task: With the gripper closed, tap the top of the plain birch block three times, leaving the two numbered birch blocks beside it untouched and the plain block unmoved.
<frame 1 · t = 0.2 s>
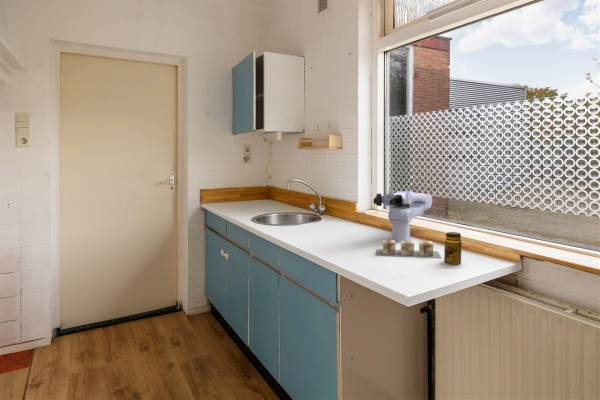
hand: (382, 201, 168), 21 cm above the worktop, tool horizontal, fingers open, 7 cm apart
plain block: (407, 253, 161), resting on slate mat
slate mat: (407, 254, 161), on the worktop
condiment: (452, 263, 149), on the worktop
block one: (388, 252, 163), resting on slate mat
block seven: (425, 254, 160), resting on slate mat
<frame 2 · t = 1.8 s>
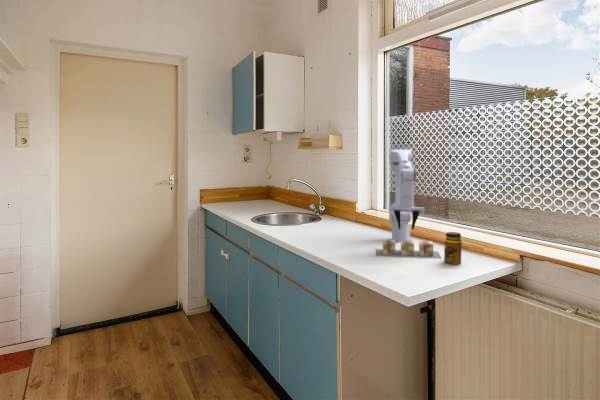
hand: (406, 228, 164), 10 cm above the worktop, tool pointing down, fingers open, 5 cm apart
nothing on the worktop moved.
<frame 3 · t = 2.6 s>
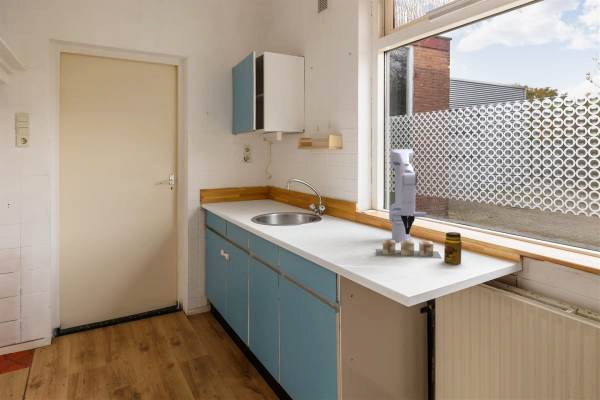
hand: (407, 233, 161), 9 cm above the worktop, tool pointing down, fingers closed
nothing on the worktop moved.
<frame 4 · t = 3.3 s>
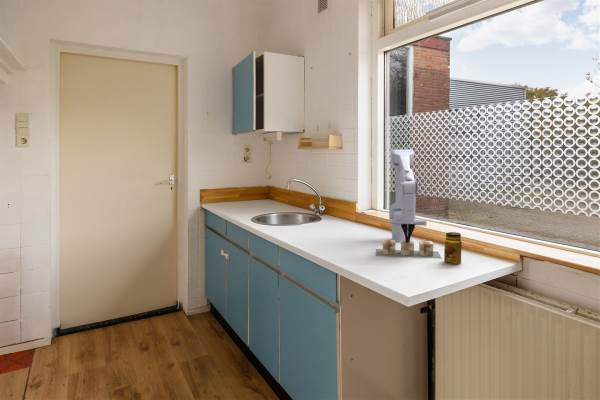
hand: (407, 242, 161), 5 cm above the worktop, tool pointing down, fingers closed, pressing on plain block
plain block: (407, 253, 161), resting on slate mat, touching gripper
everything else where it was.
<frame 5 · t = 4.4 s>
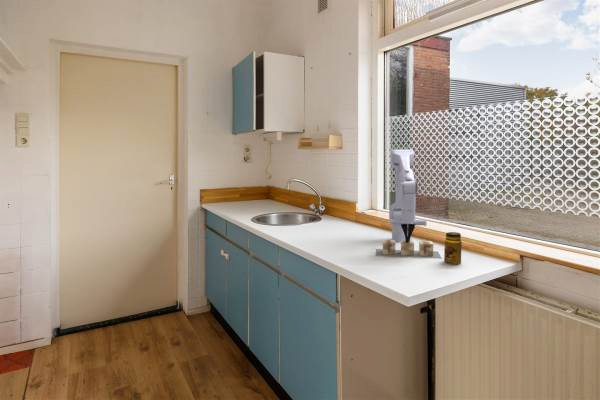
hand: (407, 242, 161), 5 cm above the worktop, tool pointing down, fingers closed, pressing on plain block
plain block: (407, 253, 161), resting on slate mat, touching gripper
everything else where it was.
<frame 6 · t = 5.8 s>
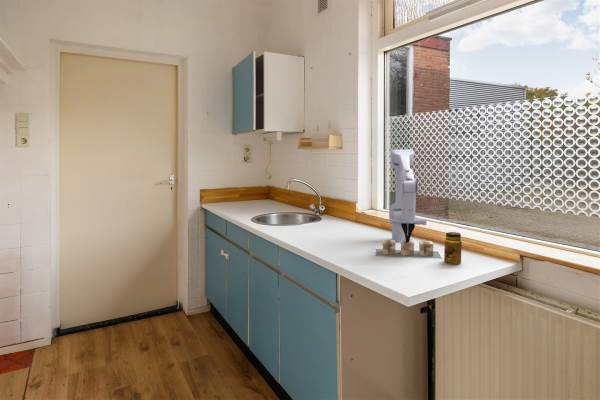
hand: (407, 241, 161), 6 cm above the worktop, tool pointing down, fingers closed
plain block: (407, 253, 161), resting on slate mat
everything else where it was.
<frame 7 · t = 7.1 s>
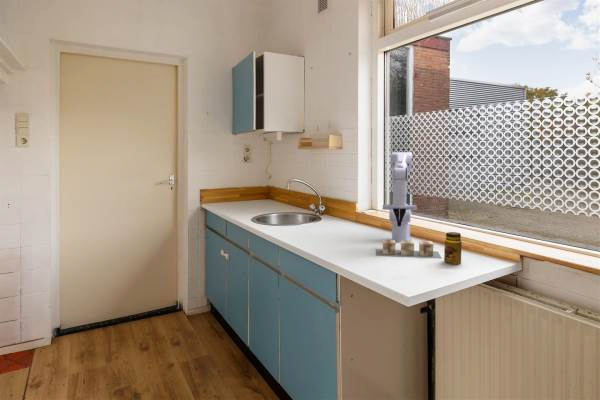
hand: (399, 225, 170), 10 cm above the worktop, tool pointing down, fingers closed
nothing on the worktop moved.
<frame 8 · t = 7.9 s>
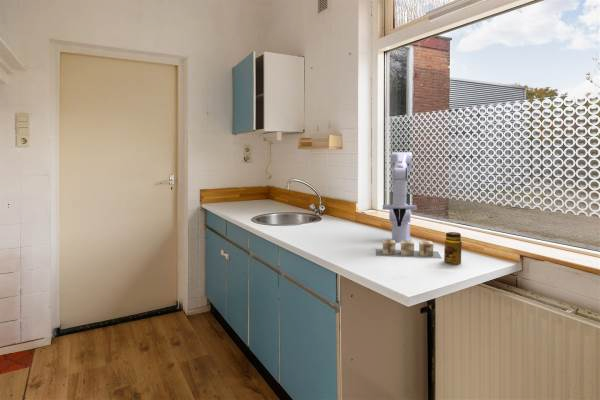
hand: (399, 225, 170), 10 cm above the worktop, tool pointing down, fingers closed
nothing on the worktop moved.
at the end: plain block moved 0.0 cm from its start; plain block tilted 0°; block one moved 0.0 cm from its start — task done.
